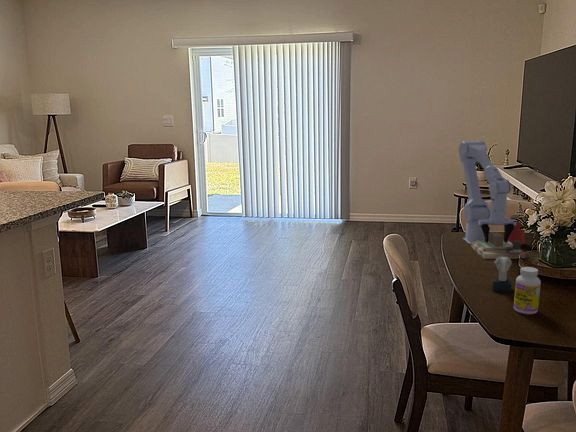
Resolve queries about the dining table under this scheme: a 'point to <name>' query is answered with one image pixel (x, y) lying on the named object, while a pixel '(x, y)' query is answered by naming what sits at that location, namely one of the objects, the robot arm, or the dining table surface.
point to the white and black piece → (502, 275)
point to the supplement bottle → (527, 291)
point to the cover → (494, 242)
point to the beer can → (516, 231)
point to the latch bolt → (515, 246)
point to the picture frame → (495, 252)
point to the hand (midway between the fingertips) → (496, 242)
